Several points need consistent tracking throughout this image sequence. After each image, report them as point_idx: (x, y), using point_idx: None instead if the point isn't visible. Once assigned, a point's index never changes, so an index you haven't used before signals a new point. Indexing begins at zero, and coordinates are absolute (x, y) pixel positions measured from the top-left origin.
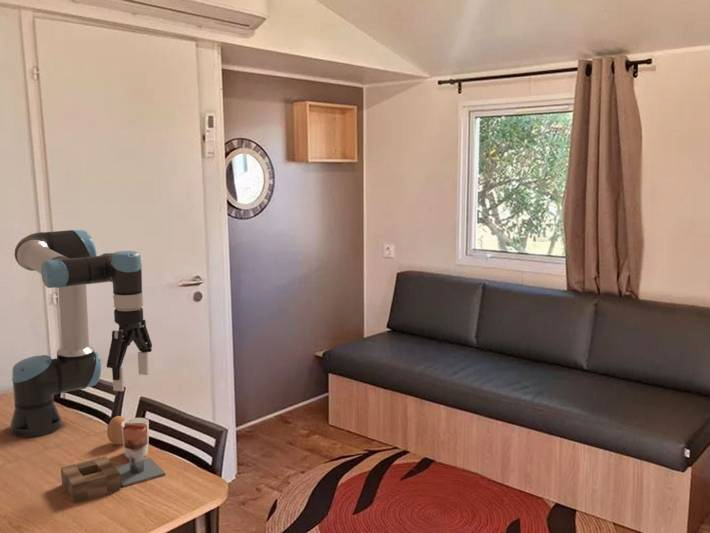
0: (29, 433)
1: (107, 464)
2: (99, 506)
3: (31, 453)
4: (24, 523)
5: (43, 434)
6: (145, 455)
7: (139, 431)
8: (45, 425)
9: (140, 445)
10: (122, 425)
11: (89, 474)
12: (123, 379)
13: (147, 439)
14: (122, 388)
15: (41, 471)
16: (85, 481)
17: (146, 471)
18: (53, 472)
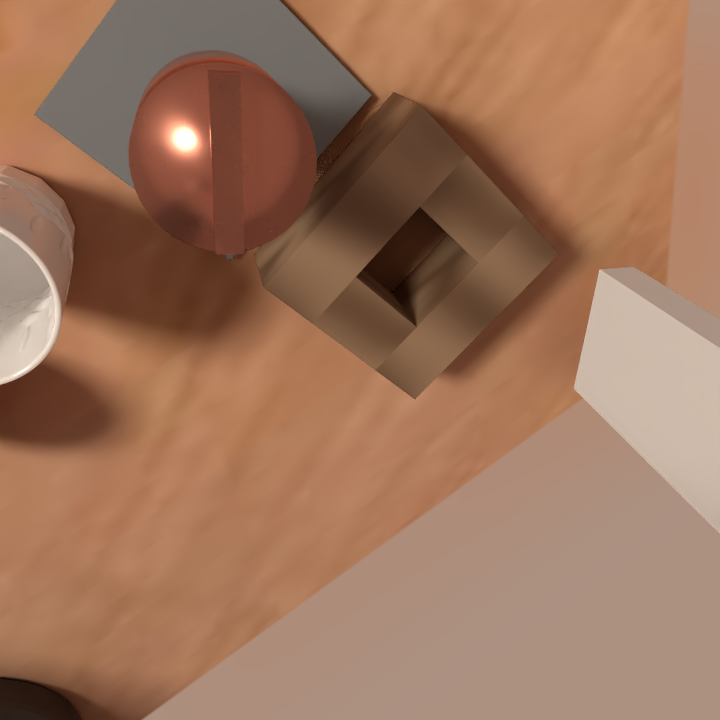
0: (66, 716)
1: (349, 223)
2: (539, 105)
3: (186, 610)
4: None
5: (27, 684)
6: (4, 165)
7: (281, 88)
8: (6, 717)
9: (265, 71)
10: (12, 368)
11: (460, 244)
12: (709, 341)
13: (179, 60)
14: (658, 282)
15: (307, 491)
16: (525, 220)
17: (203, 43)
18: (305, 450)
